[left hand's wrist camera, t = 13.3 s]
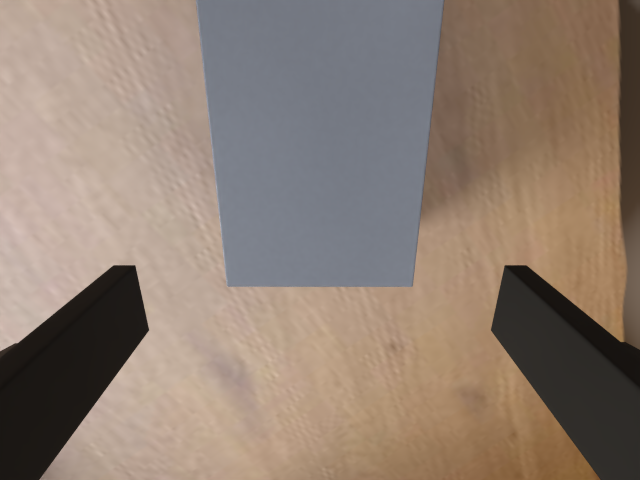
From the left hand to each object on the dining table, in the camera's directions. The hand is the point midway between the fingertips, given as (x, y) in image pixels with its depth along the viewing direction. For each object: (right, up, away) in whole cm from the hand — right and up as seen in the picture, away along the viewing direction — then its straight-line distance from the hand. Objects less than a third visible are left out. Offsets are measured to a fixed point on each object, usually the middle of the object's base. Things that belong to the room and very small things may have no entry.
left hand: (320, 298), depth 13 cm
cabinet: (0, +11, +12) cm, 17 cm away
